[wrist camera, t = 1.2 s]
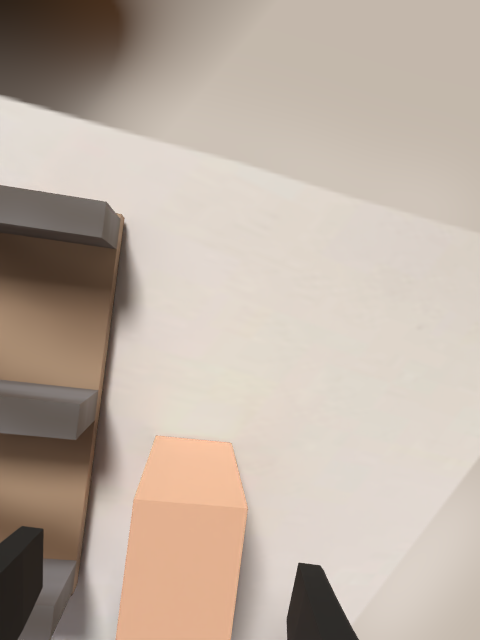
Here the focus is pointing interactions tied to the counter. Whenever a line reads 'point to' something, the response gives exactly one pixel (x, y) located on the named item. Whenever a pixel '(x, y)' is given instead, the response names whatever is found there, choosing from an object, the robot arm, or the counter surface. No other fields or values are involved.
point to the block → (184, 544)
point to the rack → (52, 374)
